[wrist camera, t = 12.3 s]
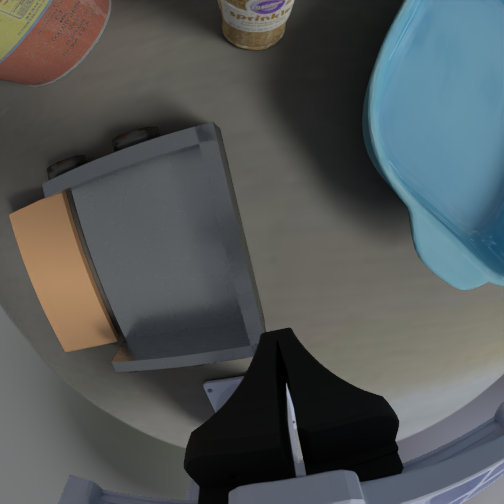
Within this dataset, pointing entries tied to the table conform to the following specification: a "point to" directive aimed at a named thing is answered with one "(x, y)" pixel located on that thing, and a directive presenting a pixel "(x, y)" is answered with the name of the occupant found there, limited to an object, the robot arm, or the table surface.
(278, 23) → the sprinkles bottle
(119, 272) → the trailer
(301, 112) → the table surface
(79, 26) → the canned food
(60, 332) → the panel
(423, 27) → the casserole dish
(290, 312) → the table surface
